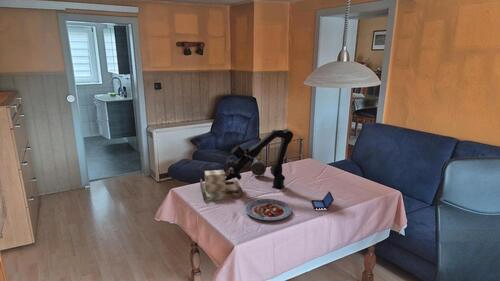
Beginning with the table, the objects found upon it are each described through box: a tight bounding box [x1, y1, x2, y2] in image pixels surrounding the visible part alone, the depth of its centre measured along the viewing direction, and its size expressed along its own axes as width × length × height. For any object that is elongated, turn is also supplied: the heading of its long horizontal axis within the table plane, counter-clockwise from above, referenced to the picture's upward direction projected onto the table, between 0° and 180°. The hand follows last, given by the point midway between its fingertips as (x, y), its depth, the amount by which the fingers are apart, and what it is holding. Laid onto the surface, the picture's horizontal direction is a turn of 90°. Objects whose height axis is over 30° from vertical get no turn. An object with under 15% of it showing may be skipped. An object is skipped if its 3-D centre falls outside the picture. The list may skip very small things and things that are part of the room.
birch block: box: [204, 169, 226, 192], centre depth 204 cm, size 12×8×11 cm, turn 104°
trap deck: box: [199, 178, 245, 202], centre depth 206 cm, size 25×22×6 cm
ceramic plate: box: [244, 198, 292, 221], centre depth 181 cm, size 26×26×3 cm
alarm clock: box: [250, 154, 267, 178], centre depth 233 cm, size 11×5×16 cm, turn 84°
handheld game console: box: [311, 191, 335, 210], centre depth 188 cm, size 12×11×7 cm
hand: (225, 180), depth 206 cm, fingers closed
